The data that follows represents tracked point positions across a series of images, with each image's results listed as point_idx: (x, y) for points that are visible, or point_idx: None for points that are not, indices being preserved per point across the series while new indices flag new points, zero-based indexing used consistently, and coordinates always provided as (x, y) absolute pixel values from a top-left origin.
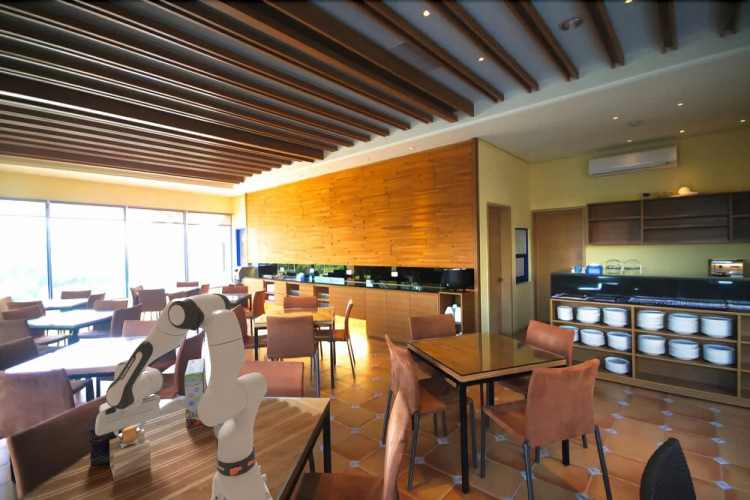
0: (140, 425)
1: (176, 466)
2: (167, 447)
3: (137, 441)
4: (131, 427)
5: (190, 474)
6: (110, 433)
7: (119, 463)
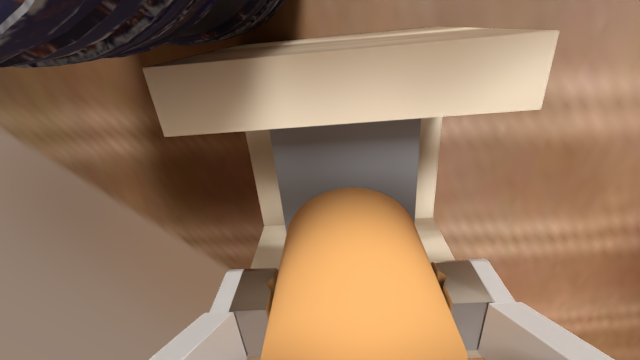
0: (527, 358)
1: (507, 288)
2: (572, 76)
3: (413, 212)
4: (397, 349)
5: None
6: (94, 54)
7: None
